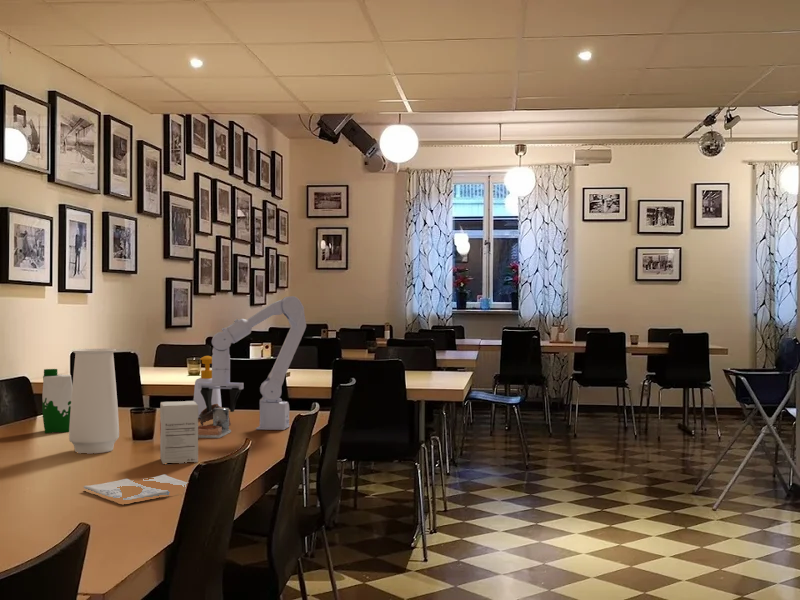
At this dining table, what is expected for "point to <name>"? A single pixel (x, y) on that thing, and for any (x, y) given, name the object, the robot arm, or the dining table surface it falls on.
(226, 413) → the grey cylinder
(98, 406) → the vase
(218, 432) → the flange plate
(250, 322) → the robot arm
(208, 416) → the pottery mug
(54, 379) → the milk carton
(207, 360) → the soap bottle
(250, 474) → the dining table surface
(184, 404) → the supplement box
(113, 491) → the white flat pieces
